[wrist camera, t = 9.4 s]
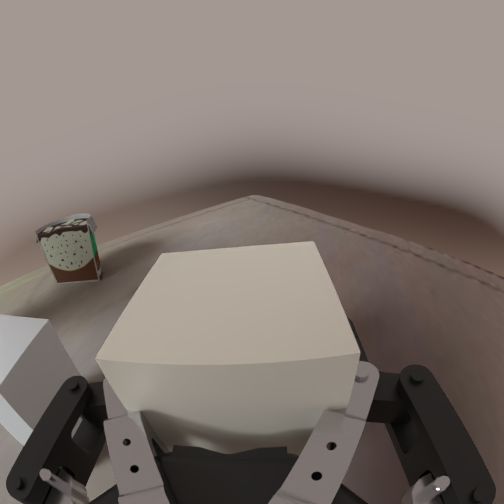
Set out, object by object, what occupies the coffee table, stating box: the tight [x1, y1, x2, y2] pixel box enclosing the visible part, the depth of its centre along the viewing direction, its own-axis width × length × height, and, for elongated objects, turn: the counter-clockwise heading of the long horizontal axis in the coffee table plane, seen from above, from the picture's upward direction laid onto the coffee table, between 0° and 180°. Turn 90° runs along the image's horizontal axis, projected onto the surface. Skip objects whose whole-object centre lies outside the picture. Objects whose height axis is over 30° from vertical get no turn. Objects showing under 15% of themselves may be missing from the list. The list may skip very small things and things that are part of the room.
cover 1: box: [0, 314, 82, 446], centre depth 14 cm, size 7×7×10 cm
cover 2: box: [95, 241, 361, 455], centre depth 11 cm, size 7×7×10 cm
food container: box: [35, 213, 102, 285], centre depth 41 cm, size 12×6×10 cm, turn 95°
